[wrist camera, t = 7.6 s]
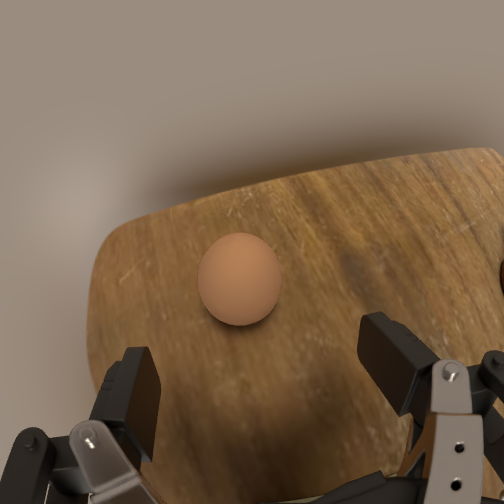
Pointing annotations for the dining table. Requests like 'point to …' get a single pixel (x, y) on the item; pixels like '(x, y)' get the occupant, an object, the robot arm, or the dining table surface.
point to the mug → (502, 274)
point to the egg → (239, 279)
